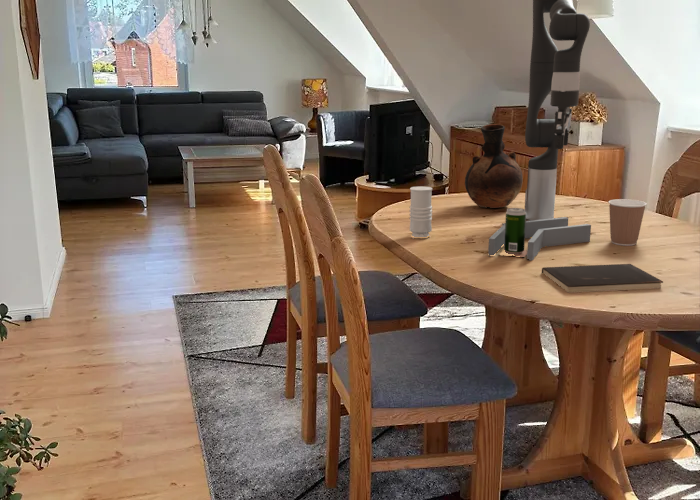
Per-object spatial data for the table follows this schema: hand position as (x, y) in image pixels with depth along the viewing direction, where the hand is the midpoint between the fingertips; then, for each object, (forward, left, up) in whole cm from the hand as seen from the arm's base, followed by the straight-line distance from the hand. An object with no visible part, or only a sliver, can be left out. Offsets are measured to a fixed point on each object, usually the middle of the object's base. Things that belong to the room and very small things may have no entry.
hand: (561, 147), depth 202 cm
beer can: (+7, -19, -28) cm, 34 cm away
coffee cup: (+9, +17, -28) cm, 34 cm away
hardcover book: (+36, -14, -29) cm, 48 cm away
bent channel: (+3, -9, -28) cm, 29 cm away
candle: (-21, -34, -28) cm, 49 cm away
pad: (+7, -19, -28) cm, 34 cm away
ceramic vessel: (-51, +10, -28) cm, 59 cm away
